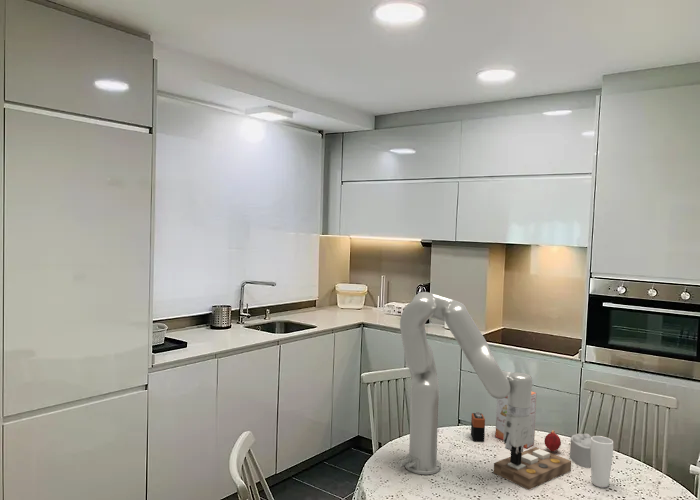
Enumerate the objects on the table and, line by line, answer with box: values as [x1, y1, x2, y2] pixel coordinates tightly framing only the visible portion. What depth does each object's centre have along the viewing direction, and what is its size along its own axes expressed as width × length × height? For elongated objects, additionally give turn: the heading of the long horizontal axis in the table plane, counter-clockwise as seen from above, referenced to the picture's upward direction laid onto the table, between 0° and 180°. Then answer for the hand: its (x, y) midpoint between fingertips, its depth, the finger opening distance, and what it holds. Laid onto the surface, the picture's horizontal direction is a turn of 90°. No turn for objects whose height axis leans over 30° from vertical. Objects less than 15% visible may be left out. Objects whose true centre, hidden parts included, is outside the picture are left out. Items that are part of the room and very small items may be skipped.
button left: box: [508, 463, 526, 470], centre depth 183 cm, size 4×4×2 cm
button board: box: [493, 446, 572, 491], centre depth 186 cm, size 24×14×4 cm, turn 127°
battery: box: [470, 411, 486, 443], centre depth 214 cm, size 4×7×10 cm, turn 175°
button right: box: [532, 448, 551, 460], centre depth 191 cm, size 4×4×2 cm
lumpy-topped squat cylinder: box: [569, 433, 592, 469], centre depth 196 cm, size 10×13×9 cm
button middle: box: [521, 454, 538, 465], centre depth 187 cm, size 4×4×2 cm
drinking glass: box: [590, 435, 614, 488], centre depth 178 cm, size 7×7×15 cm
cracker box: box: [495, 391, 537, 449], centre depth 211 cm, size 14×6×21 cm, turn 42°
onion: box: [543, 430, 562, 453], centre depth 203 cm, size 6×6×8 cm
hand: (515, 463), depth 183 cm, fingers closed
